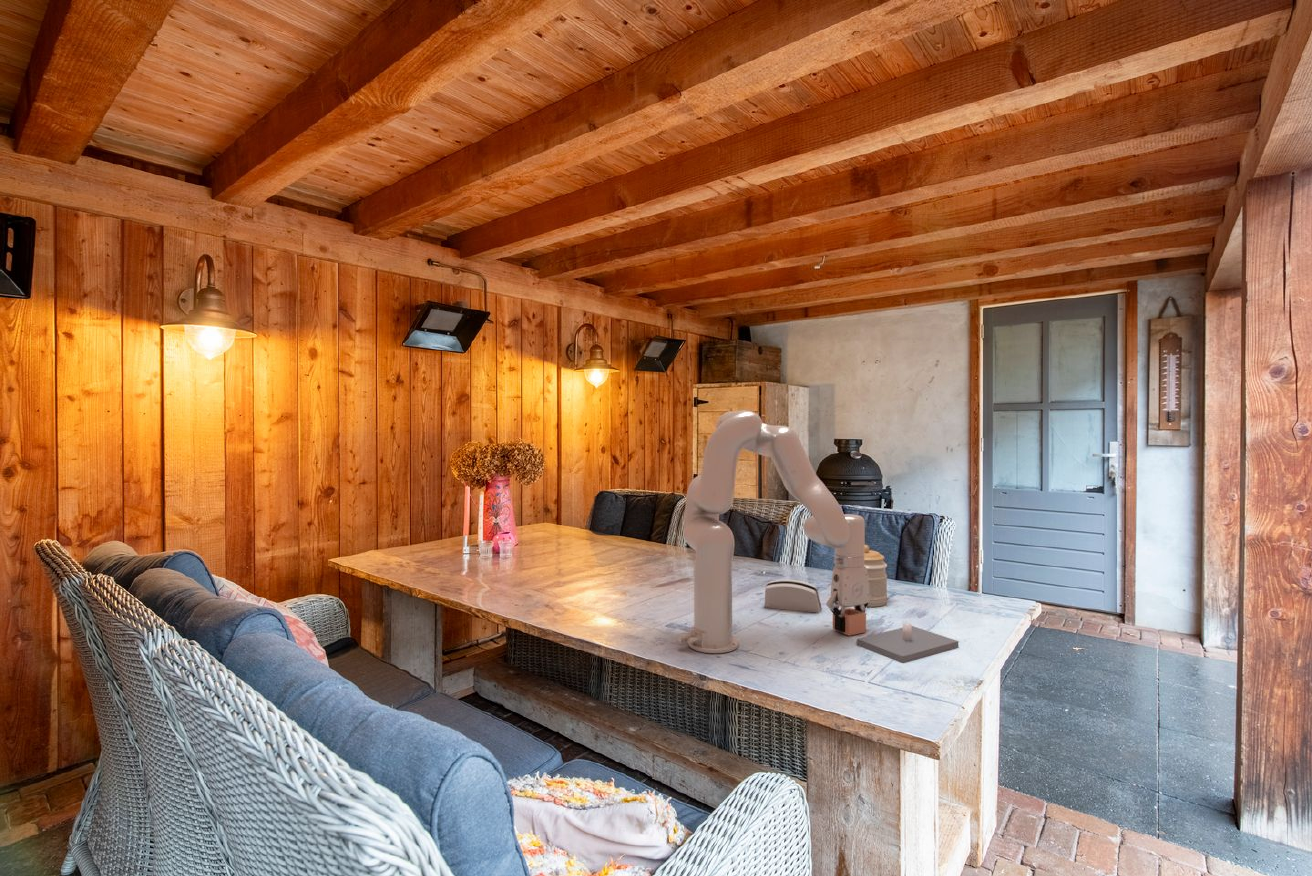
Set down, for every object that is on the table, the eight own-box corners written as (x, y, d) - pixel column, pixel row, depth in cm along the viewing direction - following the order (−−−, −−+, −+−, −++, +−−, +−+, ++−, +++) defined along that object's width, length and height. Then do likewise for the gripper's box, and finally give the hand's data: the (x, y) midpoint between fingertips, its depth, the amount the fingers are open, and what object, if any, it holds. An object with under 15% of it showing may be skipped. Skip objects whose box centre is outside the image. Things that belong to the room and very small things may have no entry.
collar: (849, 635, 166) (849, 616, 166) (832, 629, 171) (832, 610, 171) (865, 632, 169) (866, 613, 169) (848, 625, 174) (848, 607, 174)
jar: (873, 595, 206) (873, 540, 205) (895, 606, 193) (895, 548, 192) (835, 597, 203) (835, 542, 203) (855, 609, 191) (855, 550, 190)
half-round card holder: (822, 608, 192) (820, 579, 188) (820, 617, 188) (818, 588, 184) (767, 602, 198) (764, 574, 195) (764, 611, 194) (761, 583, 191)
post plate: (902, 662, 148) (902, 639, 148) (856, 644, 160) (856, 622, 160) (958, 647, 158) (958, 625, 158) (911, 631, 170) (911, 610, 170)
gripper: (835, 567, 162) (835, 638, 163) (883, 560, 171) (883, 628, 171) (815, 562, 169) (814, 630, 169) (862, 555, 177) (861, 620, 178)
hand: (849, 628), depth 170 cm, fingers closed on collar, 6 cm apart
